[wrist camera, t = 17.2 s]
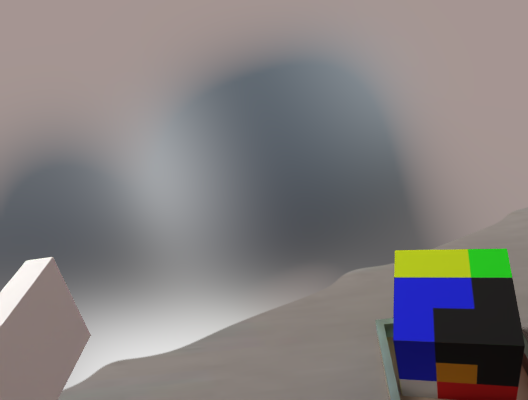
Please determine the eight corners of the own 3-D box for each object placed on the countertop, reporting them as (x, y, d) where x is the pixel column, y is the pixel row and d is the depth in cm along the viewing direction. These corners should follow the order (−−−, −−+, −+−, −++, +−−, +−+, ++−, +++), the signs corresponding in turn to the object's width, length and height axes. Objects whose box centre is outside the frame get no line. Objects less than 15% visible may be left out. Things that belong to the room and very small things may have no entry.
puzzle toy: (401, 395, 48) (393, 340, 42) (402, 309, 55) (395, 250, 49) (515, 404, 45) (524, 345, 39) (501, 311, 52) (506, 248, 46)
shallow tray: (400, 453, 44) (397, 431, 43) (378, 339, 57) (375, 319, 55) (567, 441, 42) (570, 417, 41) (506, 326, 55) (507, 305, 53)
